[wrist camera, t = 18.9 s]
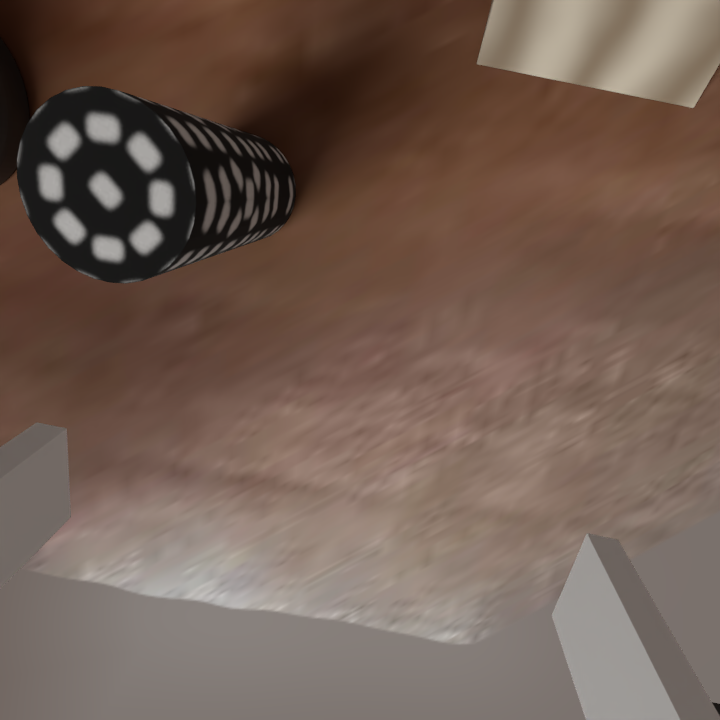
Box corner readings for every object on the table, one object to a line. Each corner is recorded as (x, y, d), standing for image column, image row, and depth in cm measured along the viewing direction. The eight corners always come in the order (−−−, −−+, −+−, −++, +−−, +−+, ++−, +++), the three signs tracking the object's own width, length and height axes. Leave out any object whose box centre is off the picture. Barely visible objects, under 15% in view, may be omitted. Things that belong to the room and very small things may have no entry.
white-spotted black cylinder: (316, 198, 41) (234, 209, 22) (242, 260, 43) (111, 317, 24) (250, 110, 39) (99, 38, 20) (177, 179, 41) (-19, 172, 22)
